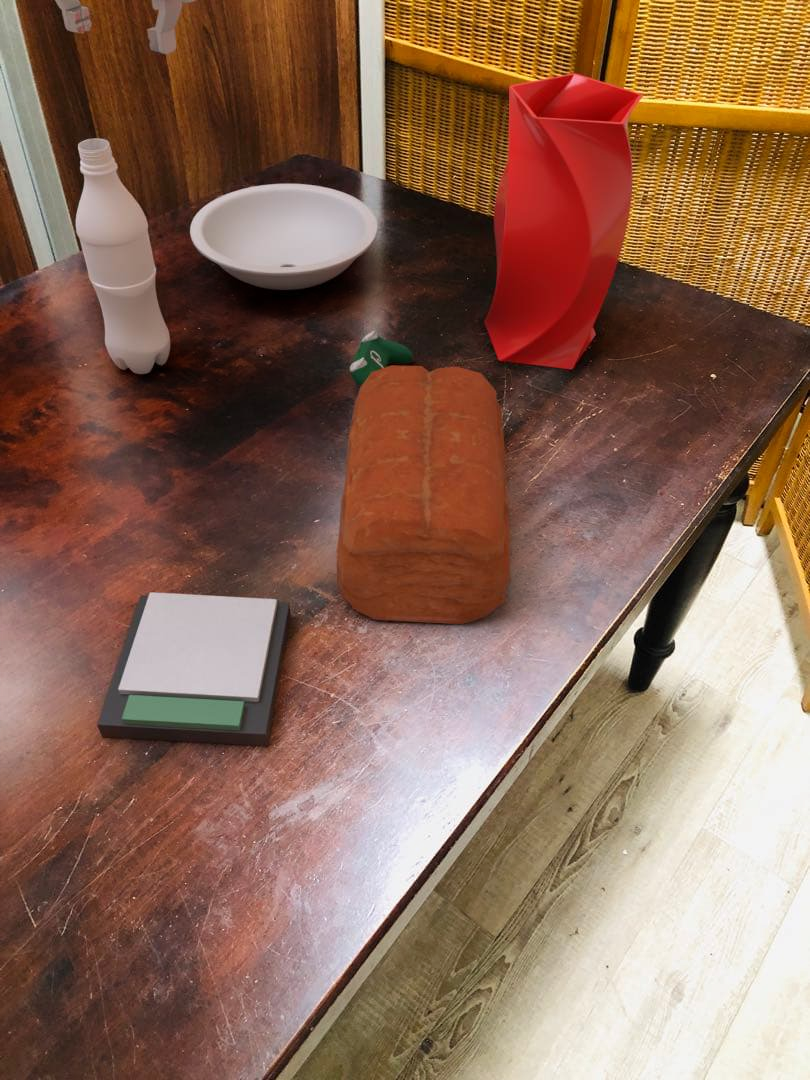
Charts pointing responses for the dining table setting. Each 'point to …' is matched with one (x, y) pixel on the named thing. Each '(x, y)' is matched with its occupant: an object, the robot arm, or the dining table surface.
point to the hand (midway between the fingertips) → (121, 41)
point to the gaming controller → (377, 356)
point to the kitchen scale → (198, 670)
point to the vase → (559, 216)
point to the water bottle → (120, 262)
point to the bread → (425, 498)
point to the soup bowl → (284, 234)
